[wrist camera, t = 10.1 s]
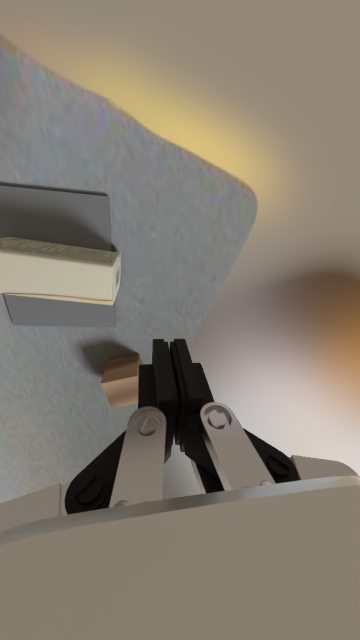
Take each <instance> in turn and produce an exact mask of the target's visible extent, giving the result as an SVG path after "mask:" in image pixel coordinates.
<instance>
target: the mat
mask: <svg viewBox="0 0 360 640" xmlns="http://www.w3.org/2000/svg"><path fill="white" fill-rule="evenodd" d="M4 237H14V238H21V239H28V240H35V241H42V242H49V243H56V244H63V245H70V246H77V247H84V248H91V249H98V250H105V251H112V248H111V229H110V211H109V197H108V196H98V195H88V194H79V193H69V192H59V191H49V190H39V189H30V188H20V187H10V186H0V238H4ZM4 296H5V299H6V303H7V306H8V309H9V313H10V316H11V319H12V323H13V325H31V326H81V327H115V326H116V323H115V304H114V303H113V305H104V304H94V303H84V302H74V301H65V300H55V299H45V298H36V297H27V296H16V295H8V294H4Z"/></svg>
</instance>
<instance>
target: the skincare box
mask: <svg viewBox="0 0 360 640" xmlns="http://www.w3.org/2000/svg"><path fill="white" fill-rule="evenodd" d="M120 277H121V253H119V252H112V251H105V250H98V249H91V248H84V247H77V246H70V245H63V244H56V243H49V242H42V241H35V240H28V239H21V238H14V237H4V238H0V294H8V295H16V296H27V297H36V298H45V299H55V300H65V301H74V302H84V303H94V304H104V305H113V303H114V301H115V298H116V295H117V292H118V289H119V286H120Z"/></svg>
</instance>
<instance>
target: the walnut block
mask: <svg viewBox="0 0 360 640" xmlns="http://www.w3.org/2000/svg"><path fill="white" fill-rule="evenodd" d="M139 365H143V364H142V361H141V358H140V355H139V354H136V355H131V356H127V357H122V358H117V359H112V360H108V361H107V363H106V367H105V370H104V374H103V377H102V381H101V385H102V388H103V390H104V392H105V394H106V396H107V398H108V400H109V402H110V404H111V406H112V408H117V407H122V406H127V405H131V404H136V403H138V374H139Z"/></svg>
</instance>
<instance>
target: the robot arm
mask: <svg viewBox="0 0 360 640" xmlns="http://www.w3.org/2000/svg"><path fill="white" fill-rule="evenodd" d="M173 437H174V438H175V444H176V445H180V450H181V452H185V455H186V456H188V457H189V458H190V459H191V463H192V467H193V470H194V473H195V476H196V479H197V482H198V485H199V488H200V491H201V494H200V495H193V496H186V497H179V498H172V499H165V500H162V489H163V472H164V464H165V462H166V461H167V460H168V458H169V457H170V455H171V446H172V444H173ZM0 640H360V476H358V474H357V473H356V472H355V471H353V470H352V469H351V468H350V467H348V466H347V465H345V464H343V463H341V462H337V461H330V460H324V459H316V458H309V457H302V456H295V455H292V456H291V457H287V456H286V455H285V454H283V453H282V452H281V451H279V450H277V449H276V448H274V447H273V446H271V445H269V444H267V443H266V442H265V441H263V440H261V439H260V438H258V437H257V436H255V435H253V434H252V433H250V432H248V431H247V430H245V429H244V428H242V426H241V425H240V423H239V421H238V420H237V418H236V417H235V415H234V413H233V412H232V411H231V409H230V408H228V407H227V406H226V405H224V404H221V403H217V402H214V400H213V396H212V394H211V391H210V388H209V385H208V382H207V379H206V377H205V374H204V371H203V368H202V366H201V364H200V363H192V360H191V357H190V354H189V350H188V347H187V344H186V341H185V339H174V342H170V351H169V346H168V342H164V339H153V352H152V364H146V365H139V374H138V409H137V410H136V411H134V412H133V414H132V415H131V416H130V418H129V421H128V425H127V430H126V431H125V432H123V433H122V434H121V435H120V436H119V437H118V438H117V439H116V440H115V441H114V442H113V443H112V444H110V445H109V446H108V447H107V448H106V449H105V450H104V451H103V452H102V453H101V454H100V455H99V456H98V457H96V458H95V459H94V460H93V461H92V462H91V463H90V464H89V465H88V466H87V467H86V468H85V469H83V470H82V471H81V472H80V473H79V474H78V475H77V476H76V477H75V478H74V480H73V481H72V482H69V483H66V484H63V485H61V484H60V483H58V484H55V485H52V486H49V487H47V488H44V489H41V490H38V491H35V492H32V493H30V494H27V495H24V496H21V497H18V498H15V499H13V500H10V501H7V502H4V503H1V504H0Z"/></svg>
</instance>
